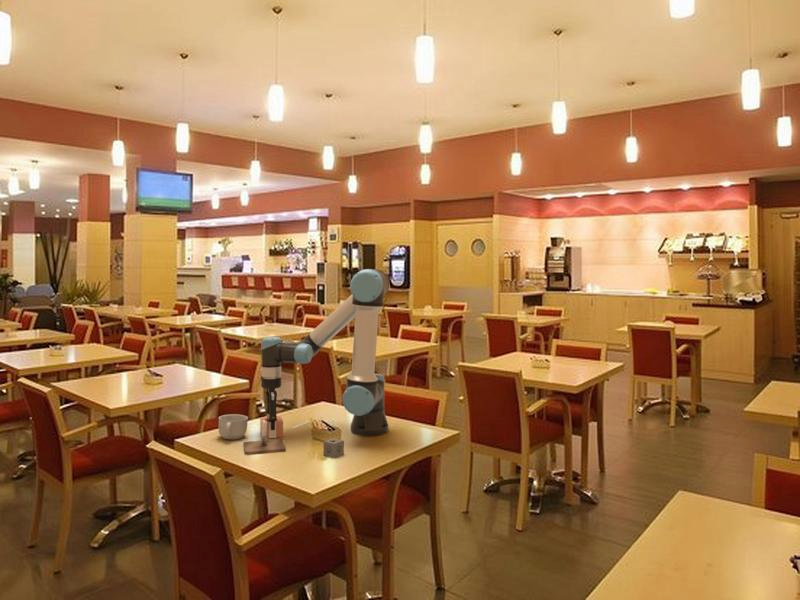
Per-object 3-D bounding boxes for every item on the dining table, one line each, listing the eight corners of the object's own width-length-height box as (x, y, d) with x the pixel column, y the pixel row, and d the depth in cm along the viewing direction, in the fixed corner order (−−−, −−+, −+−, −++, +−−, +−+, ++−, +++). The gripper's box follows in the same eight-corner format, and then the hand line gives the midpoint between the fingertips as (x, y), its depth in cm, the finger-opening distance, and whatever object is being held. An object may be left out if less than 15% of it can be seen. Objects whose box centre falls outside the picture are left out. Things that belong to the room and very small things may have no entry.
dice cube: (323, 455, 203) (323, 441, 203) (333, 451, 207) (333, 437, 207) (334, 458, 200) (334, 443, 200) (343, 454, 204) (343, 440, 204)
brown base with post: (282, 441, 218) (282, 415, 218) (285, 451, 207) (285, 423, 206) (243, 444, 214) (243, 417, 213) (244, 454, 203) (244, 426, 202)
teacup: (226, 432, 229) (225, 412, 229) (252, 434, 228) (252, 413, 227) (209, 443, 215) (209, 422, 215) (237, 445, 214) (237, 423, 213)
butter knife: (288, 427, 237) (294, 427, 236) (324, 413, 261) (330, 413, 260) (288, 428, 237) (294, 429, 236) (324, 414, 261) (330, 414, 260)
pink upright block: (281, 431, 232) (281, 416, 231) (283, 436, 224) (283, 421, 224) (260, 432, 229) (260, 417, 229) (261, 438, 222) (261, 422, 221)
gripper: (259, 372, 235) (259, 427, 236) (263, 383, 214) (263, 443, 215) (278, 371, 237) (278, 425, 238) (284, 382, 216) (284, 441, 217)
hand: (271, 434), depth 227 cm, fingers open, 9 cm apart
